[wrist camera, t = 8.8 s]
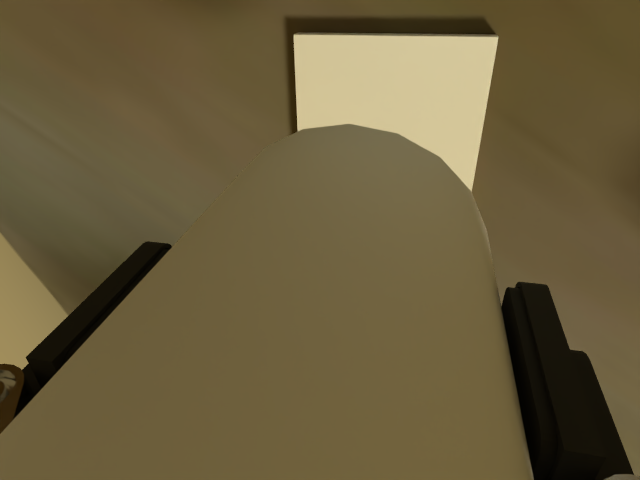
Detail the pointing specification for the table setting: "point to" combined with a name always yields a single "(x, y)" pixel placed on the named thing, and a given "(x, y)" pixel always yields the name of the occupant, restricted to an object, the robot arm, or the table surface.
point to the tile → (400, 88)
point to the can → (298, 336)
